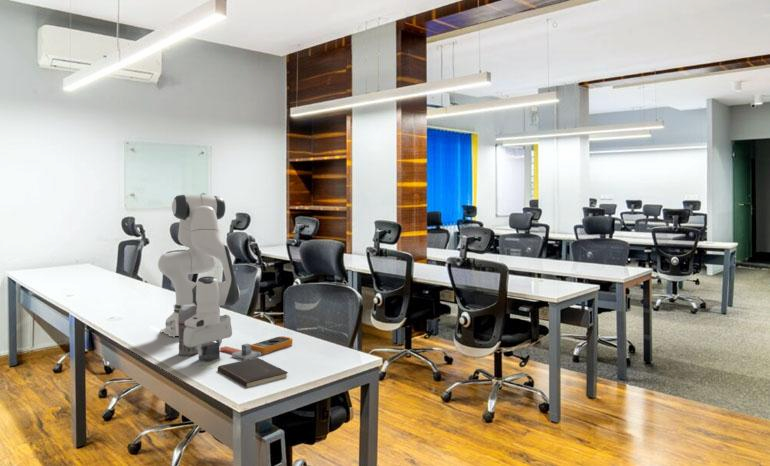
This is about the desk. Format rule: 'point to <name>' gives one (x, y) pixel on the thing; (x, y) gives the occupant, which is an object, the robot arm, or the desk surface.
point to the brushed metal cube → (210, 351)
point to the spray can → (185, 314)
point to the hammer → (242, 352)
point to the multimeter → (272, 344)
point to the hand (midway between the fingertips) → (209, 353)
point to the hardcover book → (252, 372)
